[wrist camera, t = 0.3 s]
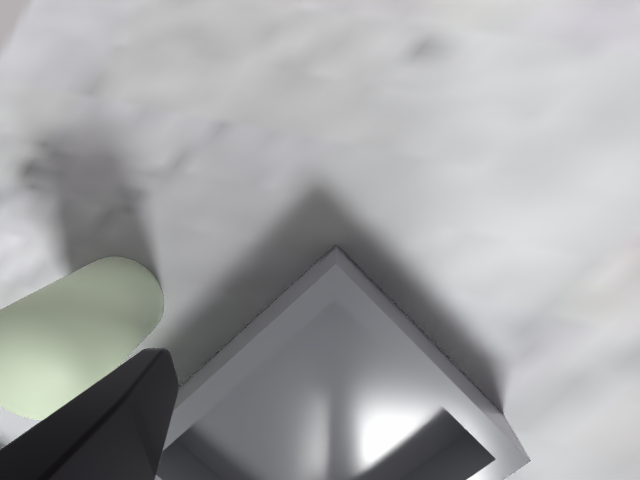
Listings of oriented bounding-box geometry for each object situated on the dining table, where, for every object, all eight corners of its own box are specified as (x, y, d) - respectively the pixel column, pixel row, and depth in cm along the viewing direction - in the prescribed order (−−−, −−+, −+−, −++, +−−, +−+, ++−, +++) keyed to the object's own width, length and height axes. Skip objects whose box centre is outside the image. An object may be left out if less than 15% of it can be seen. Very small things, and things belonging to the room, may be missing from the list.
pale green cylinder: (126, 356, 24) (44, 441, 18) (58, 297, 24) (-55, 362, 17) (182, 301, 23) (118, 369, 17) (113, 237, 23) (17, 282, 16)
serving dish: (306, 558, 27) (301, 618, 24) (144, 420, 25) (113, 464, 22) (503, 415, 24) (530, 460, 21) (336, 244, 22) (335, 263, 19)
